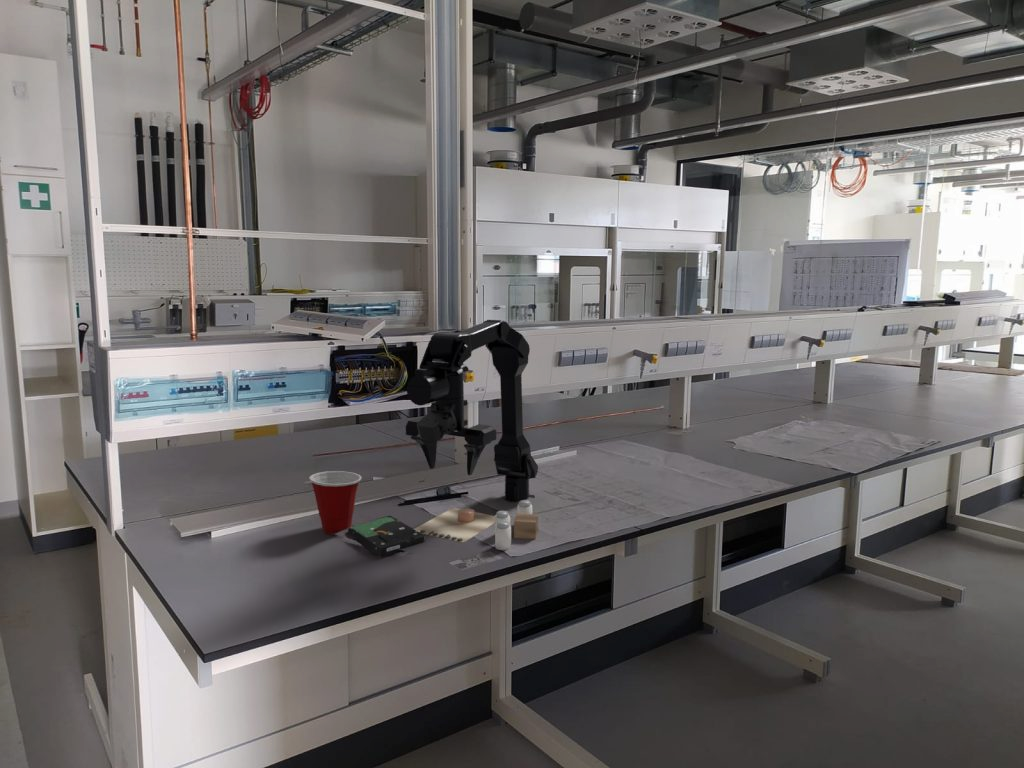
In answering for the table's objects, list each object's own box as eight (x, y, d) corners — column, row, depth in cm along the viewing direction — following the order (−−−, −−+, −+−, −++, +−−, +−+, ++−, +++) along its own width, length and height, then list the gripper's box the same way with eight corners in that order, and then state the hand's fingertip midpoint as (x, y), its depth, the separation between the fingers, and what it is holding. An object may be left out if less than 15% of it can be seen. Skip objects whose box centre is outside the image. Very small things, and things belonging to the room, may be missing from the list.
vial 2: (500, 546, 146) (500, 519, 145) (514, 549, 144) (514, 521, 143) (492, 551, 143) (491, 524, 142) (506, 555, 142) (506, 527, 140)
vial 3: (521, 523, 158) (521, 498, 157) (534, 526, 156) (534, 500, 155) (514, 528, 155) (514, 502, 154) (527, 531, 154) (527, 505, 153)
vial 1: (499, 535, 152) (499, 508, 151) (513, 538, 150) (512, 511, 149) (491, 540, 149) (491, 513, 148) (505, 543, 147) (505, 516, 146)
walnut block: (517, 533, 153) (517, 513, 152) (538, 534, 152) (538, 514, 151) (514, 541, 148) (513, 521, 147) (535, 543, 148) (535, 522, 147)
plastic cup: (371, 531, 154) (369, 477, 152) (323, 542, 148) (320, 486, 146) (351, 516, 163) (349, 465, 161) (304, 526, 157) (301, 473, 154)
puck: (463, 515, 161) (463, 507, 160) (477, 518, 159) (477, 510, 159) (454, 521, 157) (454, 512, 157) (468, 523, 156) (468, 515, 155)
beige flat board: (452, 511, 166) (452, 507, 166) (502, 521, 160) (502, 516, 159) (410, 534, 152) (410, 529, 152) (463, 546, 146) (463, 541, 146)
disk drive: (426, 548, 147) (390, 526, 158) (426, 535, 146) (390, 514, 158) (380, 561, 140) (346, 537, 152) (380, 547, 140) (346, 524, 151)
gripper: (386, 399, 141) (389, 475, 144) (467, 408, 132) (468, 489, 135) (420, 390, 151) (422, 461, 154) (497, 398, 142) (498, 474, 145)
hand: (450, 471), depth 146 cm, fingers open, 9 cm apart
